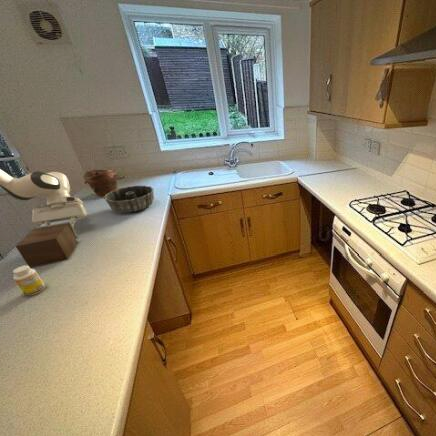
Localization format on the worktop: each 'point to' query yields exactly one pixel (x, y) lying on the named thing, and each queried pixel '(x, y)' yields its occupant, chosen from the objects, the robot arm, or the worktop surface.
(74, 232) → the drawer
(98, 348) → the worktop surface
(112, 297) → the worktop surface
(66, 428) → the worktop surface
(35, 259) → the brown box
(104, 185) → the terracotta flower pot
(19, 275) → the supplement bottle
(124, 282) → the worktop surface
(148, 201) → the bundt pan
